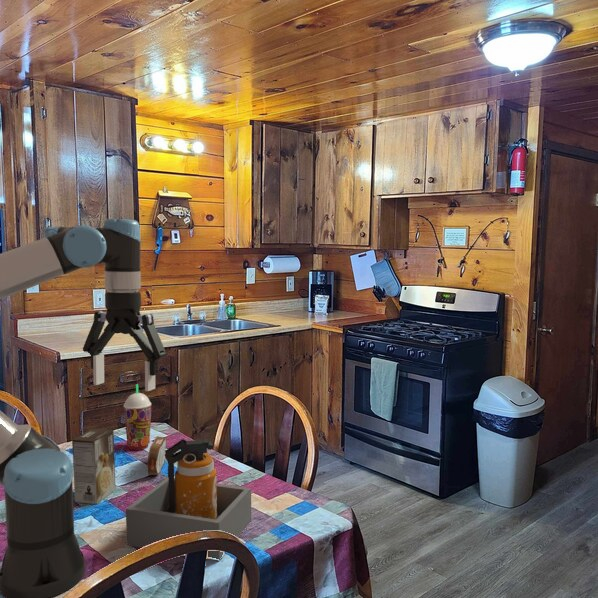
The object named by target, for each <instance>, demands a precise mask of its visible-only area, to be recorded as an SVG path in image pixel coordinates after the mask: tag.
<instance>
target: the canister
mask: <svg viewBox="0 0 598 598" xmlns="http://www.w3.org/2000/svg"><path fill="white" fill-rule="evenodd" d="M213 448H214V444H213V441H210V440H209V441H208V439H207V438H203V439H195V440H185V439H184V438H182V439H181V440H179V441H177V442H176V443H175V444H173V445H171V446H170V447H168V448H166V451H165V453H166V454H164V455H165V461H166V462H167V464H168V466H167V477H168V478H169V504H168V505H167V510H166V511H167V512H169V513H175V512H176V514H183V515H189V516H196V517H202V518H209V519H215V520H216V519H217V486H216V484H217V469H216V468H215V462H214V459H213V457H212V455H210V454H208V450H213ZM175 463H177V464H176V465H177V466H176V467H177V470H176V471H175ZM174 478H175V490H174Z"/></svg>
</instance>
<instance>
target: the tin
mask: <svg viewBox="0 0 598 598" xmlns="http://www.w3.org/2000/svg"><path fill="white" fill-rule="evenodd" d="M167 443H168V442H167V438H166V436H156V437H155V439H154V440H153V442H152V443H151V445H150V448H149V451H148V456H147V465H146V467H147V472H146V473H147V475H148V476H158V475H159V474H160V472H161V470H162V469H163V466H164V464H165V461H166V457H165V455H164V454H166V453H165V451H166V450H167Z"/></svg>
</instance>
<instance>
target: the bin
mask: <svg viewBox="0 0 598 598" xmlns="http://www.w3.org/2000/svg"><path fill="white" fill-rule="evenodd" d="M216 486H217V519H216V520H215V519H209V518H202V517H196V516H189V515H183V514H176V512H175V513H169V512H167V511H166V510H167V505H168V504H169V478H168V476H167V477H166V478H165V479H163V480H162V481H160V482H159V483H157V485H155V486H154V487H153V488H151V489H150V490H149V491H147V492H146V493H144V494H143V495H142V496H141V497H139V498H138V499H137V500H136V501H134V502H133V503H131V504H130V505H129V506H128V507H126V508H125V523H126V524H125V525H126V527H125V528H126V531H125V532H126V546H129V547H130V546H131V547H134V548H135V547H136V548H141V547H143V546H145V545H148V544H151V543H153V542H156V541H159V540H162V539H166V538H169V537H172V536H176V535H180V534H185V533H190V532H196V531H203V530H222V531H225V532H228V533H231V534H233V535H235V536H237V537H239V538H240V536H241V535H242V534H243V533H242V531H243V530H244V529H245V528H246V527H247V525H248V524H249V523H250V522H251V523H252V488H251V487H245V486H237V485H230V484H229V485H228V484H221V483H216ZM174 490H175V477H174ZM251 523H250V524H251ZM250 524H249V525H250ZM249 525H248V526H249ZM247 528H248V527H247ZM247 528H246V529H247ZM246 529H245V530H246ZM245 530H244V531H245ZM241 533H242V534H241ZM240 534H241V535H240ZM239 535H240V536H239ZM222 555H223V552H220V551H208V557H212V558H216V559H219V560H220V558H221V557H222ZM220 561H221V560H220Z"/></svg>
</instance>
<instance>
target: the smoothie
mask: <svg viewBox="0 0 598 598" xmlns="http://www.w3.org/2000/svg"><path fill="white" fill-rule="evenodd" d="M123 412H124V414H123V415H124V423H125V435H126V444H127V446H128V448H129V449H130V450H132V451H141V449H142V450H145V449H147V448H148V447H149V444H150V443H151V442H150V441H151V421H152V420H151V419H152V418H151V417H152V402H151V401H150V399H149V397H148V396H147V395H146V394H144V393H143V392H142V393H141V392H139V384H138V383H137V384H135V392H134V393H132V394H130V395H129V396H128V397H126V399H125V402H124V404H123Z"/></svg>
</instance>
